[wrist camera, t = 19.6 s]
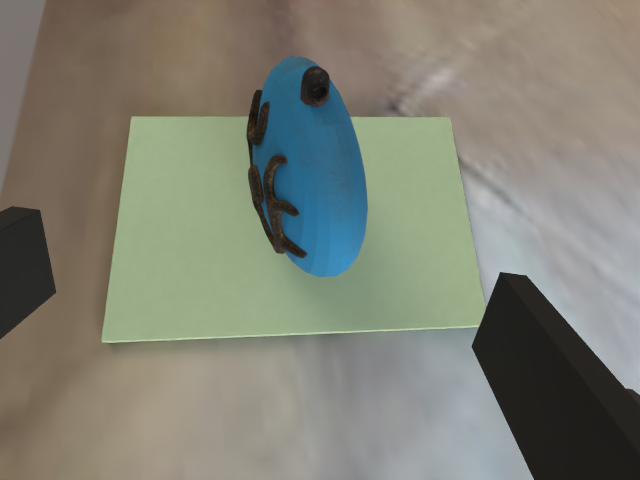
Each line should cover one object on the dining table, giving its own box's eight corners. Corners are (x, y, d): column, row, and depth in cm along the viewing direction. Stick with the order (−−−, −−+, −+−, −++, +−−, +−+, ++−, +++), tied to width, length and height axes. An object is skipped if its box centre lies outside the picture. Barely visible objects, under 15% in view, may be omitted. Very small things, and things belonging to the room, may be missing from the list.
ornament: (240, 157, 21) (195, -25, 11) (322, 139, 21) (346, -46, 12) (279, 306, 18) (264, 233, 9) (370, 280, 19) (448, 187, 9)
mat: (106, 343, 18) (100, 342, 17) (135, 122, 22) (131, 115, 21) (483, 327, 19) (489, 325, 19) (446, 123, 23) (450, 116, 22)
